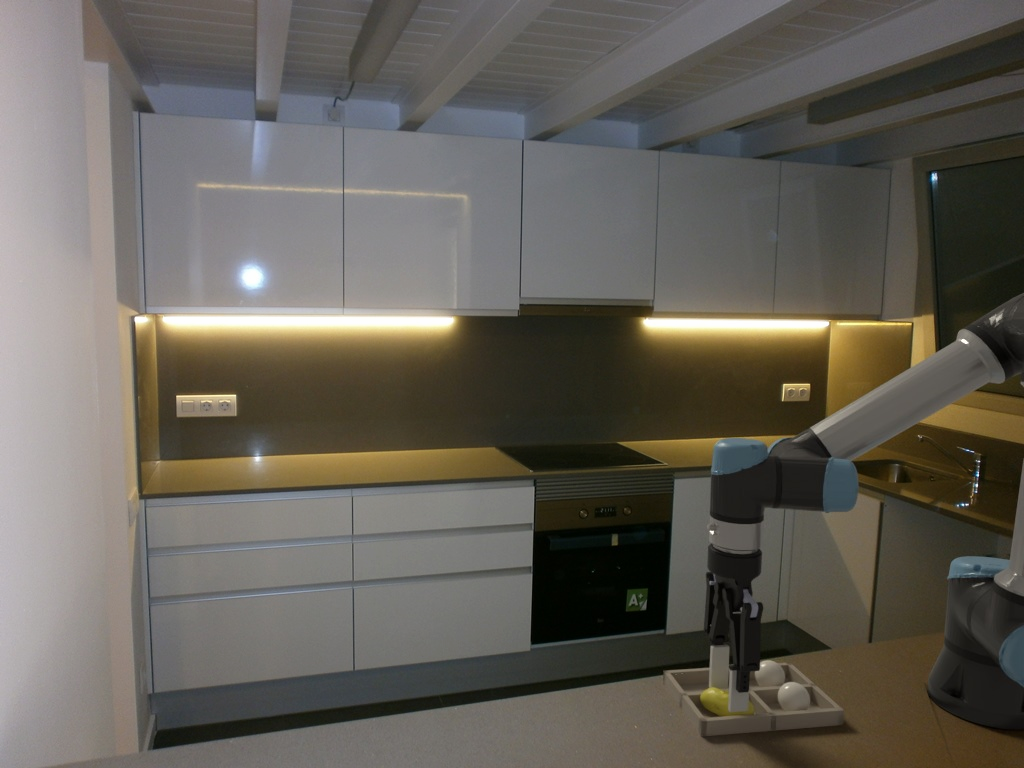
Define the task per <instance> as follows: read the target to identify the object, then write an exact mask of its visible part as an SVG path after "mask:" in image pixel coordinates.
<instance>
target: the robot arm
mask: <svg viewBox="0 0 1024 768" xmlns="http://www.w3.org/2000/svg"><path fill="white" fill-rule="evenodd" d="M1017 375H1020V385H1021V386H1022V388H1024V292H1023V293H1021V294H1019V295H1016V296H1014V297H1012V298H1010V299H1009V300H1007V301H1005V302H1004V303H1002V304H1001V305H999V306H997V307H996V308H994V309H992V310H991V311H990V312H987V313H986V314H984V315H983V316H981V317H979V318H978V319H977V320H974V321H973V322H972V323H969V324H968V325H967V326H965V327H963V328H961V329H960V330H959V331H958V333H957V335H956V340H955V341H953V342H952V343H950V344H948V345H946V346H945V347H943V348H942V349H940V350H938V351H936V352H935V353H933V354H932V355H930V356H928V357H926V358H925V359H923V360H921V361H920V362H918V363H917V364H915V365H913V366H911V367H909V368H908V369H906V370H904V371H903V372H901V373H899V374H898V375H896V376H894V377H893V378H891V379H890V380H887V381H886V382H885V383H882V384H881V385H879V386H877V387H876V388H874V389H873V390H871V391H869V392H867V393H866V394H864V395H862V396H861V397H859V398H858V399H856V400H854V401H852V402H851V403H849V404H847V405H846V406H844V407H842V408H841V409H839V410H837V411H836V412H834V413H832V414H831V415H829V416H827V417H826V418H824V419H822V420H820V421H819V422H817V423H816V424H814V425H812V426H810V427H809V428H807V429H805V430H803V431H802V432H800V433H798V434H796V435H795V436H793V437H791V436H790V437H782V438H779V439H777V440H776V441H774V442H773V443H771V444H770V445H769V447H768V446H767V444H766V443H765V442H764V441H762V440H758V439H753V438H744V437H730V438H722V439H720V440H718V441H717V442H716V443H715V444H714V445H713V450H712V461H711V468H710V491H709V492H710V494H709V499H710V500H709V523H708V524H707V525H706V529H707V530H708V541H709V543H710V544H709V545H708V547H707V564H706V565H707V566H706V567H707V569H708V571H706V573H705V582H706V593H705V607H704V608H705V609H704V618H703V619H704V621H703V633H704V635H706V636H708V638H707V639H708V643H709V644H710V654H709V668H710V670H709V687H710V688H711V687H715V688H718V689H719V688H728V669H730V679H729V700H728V710H729V711H730V712H740V711H748V703H749V683H750V672H751V671H759V670H760V663H761V640H762V639H761V634H762V631H761V629H762V617H763V611H764V605H763V604H764V603H762V601H758V602H757V601H756V602H755V600H754V598H753V593H754V592H753V587H752V582H753V581H754V580H755V579H757V578H758V577H759V576H760V575H761V573H762V564H763V563H762V561H763V552H762V550H761V548H762V547H763V546H764V527H765V526H764V525H765V511H766V510H765V509H776V510H777V509H781V510H790V511H791V510H793V511H806V512H808V511H810V512H821V513H822V512H823V513H825V514H829V513H848V512H851V511H852V510H853V509H854V508H855V506H856V505H857V500H858V496H859V474H858V470H857V468H856V465H855V464H854V462H852V461H854V460H855V459H857V458H859V457H861V456H862V455H864V454H866V453H868V452H870V451H872V450H873V449H875V448H877V447H878V446H879V445H880V446H881V445H882V444H883V443H886V442H887V441H889V440H890V439H892V438H894V437H896V436H897V435H899V434H901V433H903V432H905V431H906V430H908V429H910V428H911V427H913V426H916V424H919V423H920V422H922V421H923V420H925V419H927V418H928V417H931V416H932V415H934V414H936V413H937V412H939V411H941V410H943V409H945V408H946V407H948V406H950V405H952V404H953V403H955V402H957V401H959V400H961V399H962V398H964V397H966V396H968V395H969V394H971V393H973V392H974V391H976V390H978V389H980V388H981V387H983V386H985V385H986V384H989V383H991V384H997V385H998V384H1004V382H1006V381H1008V380H1010V379H1011V378H1013V377H1015V376H1017ZM1021 467H1022V468H1021V475H1020V483H1019V491H1018V498H1017V505H1016V511H1015V512H1016V513H1015V520H1014V527H1013V532H1012V533H1013V535H1012V540H1011V549H1010V557H1009V559H1004V558H997V557H990V556H989V557H988V556H979V555H978V556H975V555H972V556H971V555H970V556H969V555H967V556H959V557H956V558H954V559H953V560H952V561H951V562H950V566H949V572H948V576H947V577H946V579H947V593H946V604H945V605H946V607H945V622H944V634H943V635H944V639H943V646H942V648H941V650H940V653H939V654H938V657H937V659H936V661H935V663H934V664H933V667H932V669H931V670H930V672H929V674H928V680H927V694H928V696H929V697H930V699H931V700H932V701H933V702H934V704H935V705H937V706H939V707H940V708H942V709H943V710H945V711H946V712H948V713H950V714H952V715H954V716H956V717H959V718H961V719H963V720H967V721H969V722H971V723H974V724H977V725H978V724H979V725H982V726H985V727H991V728H994V729H995V728H996V729H1003V730H1014V731H1015V730H1019V731H1020V730H1024V459H1023V460H1022V466H1021ZM729 633H730V637H729ZM728 643H731V652H732V661H733V664H732V665H730V646H729V645H728Z"/></svg>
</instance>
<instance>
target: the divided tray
mask: <svg viewBox="0 0 1024 768" xmlns="http://www.w3.org/2000/svg"><path fill="white" fill-rule="evenodd" d="M778 664H779V665H780V666H781V667H782V669H783V670H784V673H785V682H784V684H785V683H788V682H796V683H799V684H801V685H802V686H803V687H805V689H806V690H807V691H808V693H809V696H810V706H809V708H808V710H800V711H787V712H786V711H784V710H783V709H782V707H781V706H780V704H779V702H778V691H779V689H780V687H781V686H773V687H760V686H759V684H758V683H757V681H756V679H755V671H751V672H750V683H749V701H750V702H751V703H752V705H753V707H754V714H749V715H736V716H723V717H722V716H719V715H717V714H715V713H713V712H711V711H709V710H707V709H706V708H705V707H704V706H703V705H702V703H701V700H700V696H701V694H702V693H703V691H705V690H706V689H708V688H710V687H709V670H710V667H702V668H701V667H700V668H699V667H698V668H687V669H686V668H685V669H683V668H682V669H669V670H663V673H662V674H663V675H662V685H663V686H664V688H665V690H667V692H668V693H669V694H670V696H671V697H672V699H673V701H675V703H676V704H677V706H678V707H679V708H680V710H681V711H682V713H683V714H684V715H685V716H686V718H687V719H688V720H689V722H690V723H691V725H692V727H694V729H695V730H696V731H697V733H698V734H699V735H700V737H711V736H725V735H734V734H735V735H737V734H745V733H747V734H748V733H759V732H769V731H770V732H772V731H773V732H774V731H782V730H783V731H785V730H796V729H806V728H807V729H808V728H809V729H810V728H811V729H812V728H820V727H832V726H843V725H844V714H845V713H844V712H845V710H844V709H843V708H842V707H841V706H840V705H839V704H838V703H836V702H835V701H834V700H833V699H832V698H831V697H830V696H829V695H827V694H826V693H825V692H824V691H823V690H822V689H821V688H820V687H818V686H817V685H816V684H815V683H814V682H813V681H811V679H809V678H808V676H806V675H805V674H804V673H802V672H801V670H799V669H798V668H797V667H796V666H795V665H794V664H792V663H791V662H778ZM694 671H695V672H694ZM681 673H683V674H681ZM675 674H677V675H675ZM729 679H730V669H728V688H719V689H722V690H725V691H729Z"/></svg>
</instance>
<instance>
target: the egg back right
mask: <svg viewBox="0 0 1024 768" xmlns="http://www.w3.org/2000/svg"><path fill="white" fill-rule="evenodd" d="M778 663H779V662H778ZM778 663H777V662H776V661H775V660H774V661H773V660H770V659H767V660H763V661H760V670H759V671H755V679H756V681H757V683H758V684H759V686H760V687H773V686H782V685H783V684H784V682H785V673H784V670H783V669H782V667H781V666H780V665H779V664H778Z"/></svg>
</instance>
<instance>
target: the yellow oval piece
mask: <svg viewBox="0 0 1024 768" xmlns="http://www.w3.org/2000/svg"><path fill="white" fill-rule="evenodd" d="M700 700H701V703H702V705H703V706H704V707H705V708H706V709H707V710H709V711H711V712H713V713H715V714H717V715H719V716H722V717H723V716H736V715H749V714H754V707H753V705H752V703H751V702H750V701H749V703H748V711H740V712H730V711H729V710H728V700H729V691H725V690H722V689H718V688H715V687H711V688H708V689H706V690H705V691H703V693H702V694H701V696H700Z"/></svg>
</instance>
